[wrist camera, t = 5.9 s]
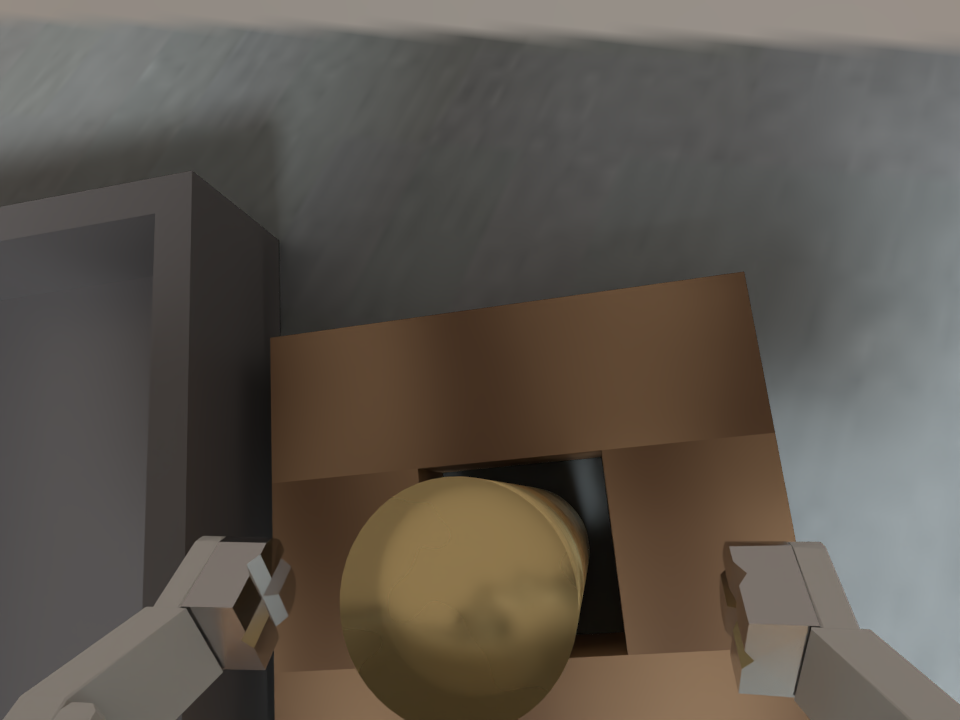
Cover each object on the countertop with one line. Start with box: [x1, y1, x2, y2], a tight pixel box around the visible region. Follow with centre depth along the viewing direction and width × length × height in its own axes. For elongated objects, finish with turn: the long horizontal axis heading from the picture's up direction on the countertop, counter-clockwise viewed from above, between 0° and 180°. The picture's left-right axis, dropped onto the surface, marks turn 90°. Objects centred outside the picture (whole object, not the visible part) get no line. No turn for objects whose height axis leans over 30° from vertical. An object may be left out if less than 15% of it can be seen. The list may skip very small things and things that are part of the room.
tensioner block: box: [270, 272, 810, 720], centre depth 16 cm, size 12×12×2 cm
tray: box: [0, 171, 280, 720], centre depth 17 cm, size 12×20×4 cm, turn 5°
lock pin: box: [340, 476, 590, 720], centre depth 13 cm, size 3×3×9 cm
